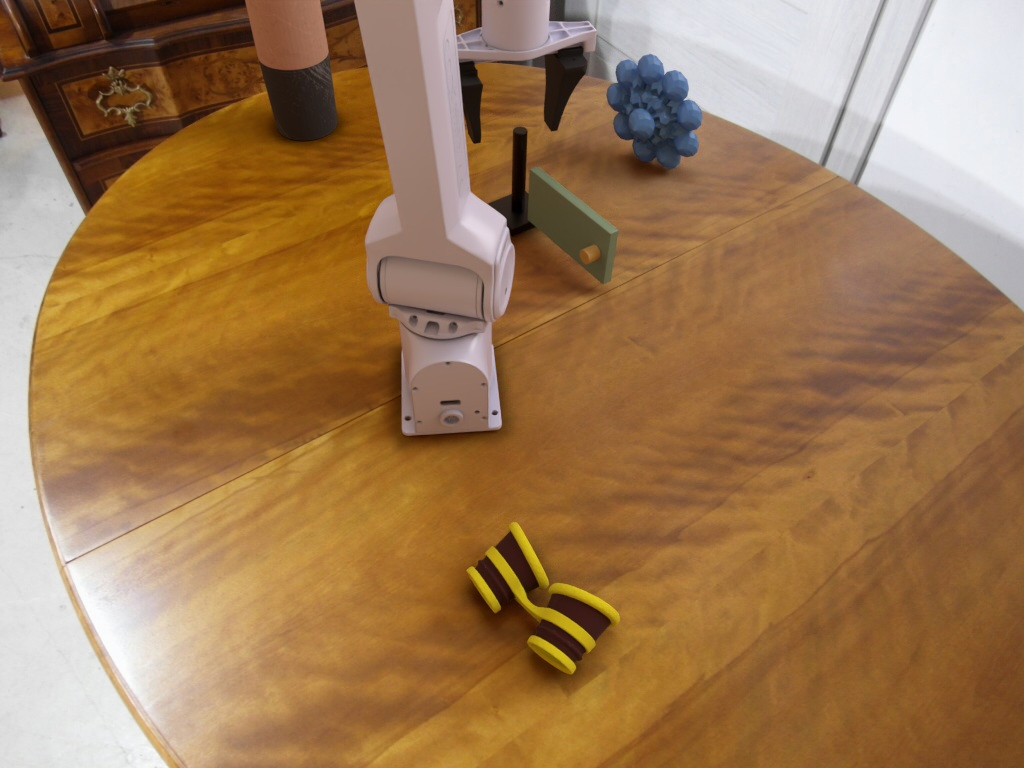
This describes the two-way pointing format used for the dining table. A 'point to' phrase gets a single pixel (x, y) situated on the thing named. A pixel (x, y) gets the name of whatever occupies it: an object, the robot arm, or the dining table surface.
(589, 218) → the gate door
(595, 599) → the opera glasses
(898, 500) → the dining table surface
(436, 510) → the dining table surface
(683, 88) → the grapes
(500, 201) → the hinge post
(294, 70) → the travel mug
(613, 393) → the dining table surface
